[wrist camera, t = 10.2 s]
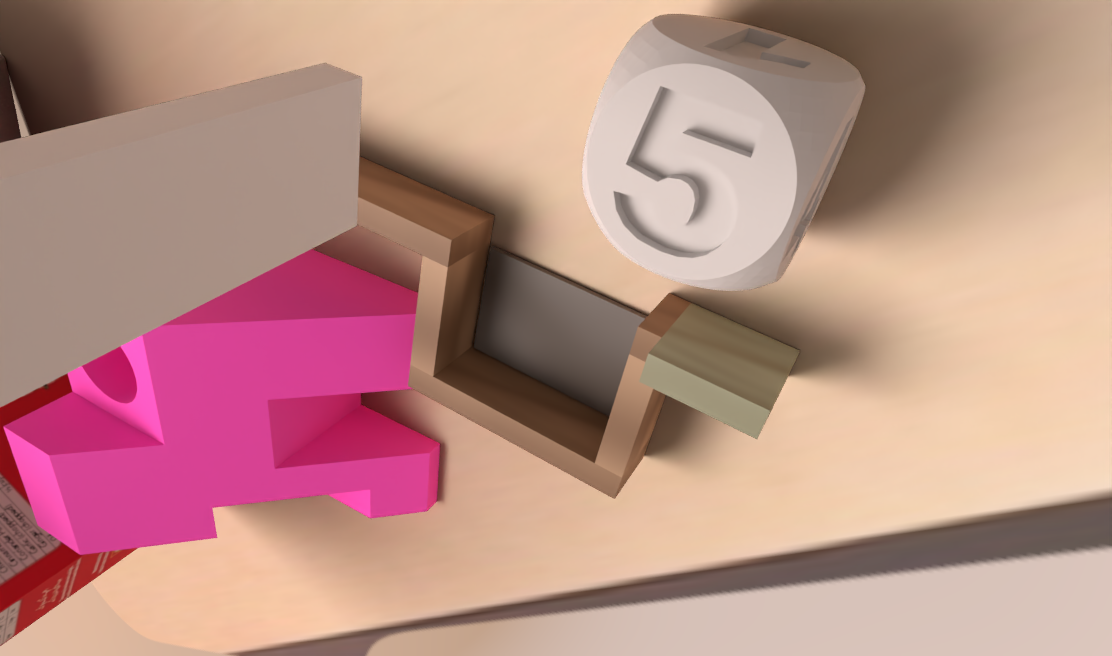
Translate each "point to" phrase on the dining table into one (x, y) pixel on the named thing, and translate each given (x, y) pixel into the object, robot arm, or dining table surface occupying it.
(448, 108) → the dining table surface
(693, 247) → the die
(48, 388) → the food packaging
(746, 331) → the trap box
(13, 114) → the planter
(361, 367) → the bracket
